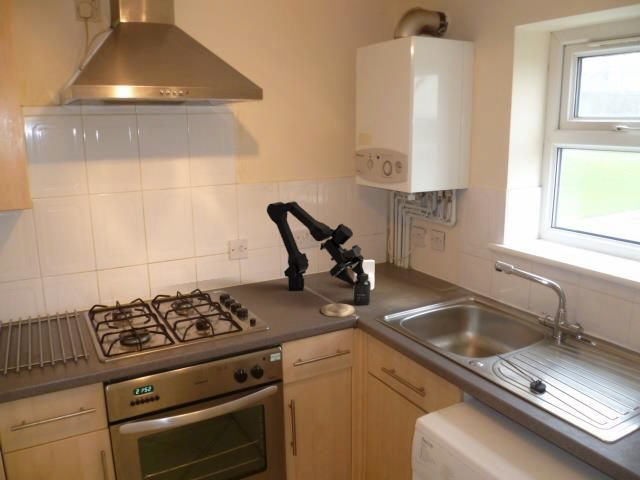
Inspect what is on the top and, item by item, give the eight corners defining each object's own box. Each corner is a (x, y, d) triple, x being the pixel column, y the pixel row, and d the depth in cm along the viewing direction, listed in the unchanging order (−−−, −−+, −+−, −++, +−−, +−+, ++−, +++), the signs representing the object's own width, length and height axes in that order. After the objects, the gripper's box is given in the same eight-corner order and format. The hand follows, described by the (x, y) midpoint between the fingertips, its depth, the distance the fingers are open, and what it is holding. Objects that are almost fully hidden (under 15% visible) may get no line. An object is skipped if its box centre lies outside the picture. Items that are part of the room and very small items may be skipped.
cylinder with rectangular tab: (371, 283, 243) (372, 257, 240) (376, 290, 234) (376, 263, 232) (351, 284, 242) (352, 258, 239) (355, 290, 233) (356, 264, 230)
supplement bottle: (358, 306, 214) (358, 277, 211) (350, 301, 220) (350, 273, 217) (373, 304, 216) (374, 275, 214) (365, 299, 222) (365, 271, 220)
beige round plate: (323, 318, 202) (323, 315, 202) (319, 306, 214) (319, 304, 214) (357, 316, 204) (357, 314, 203) (351, 304, 216) (351, 302, 216)
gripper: (336, 244, 208) (360, 276, 205) (360, 235, 223) (383, 264, 220) (319, 261, 214) (343, 292, 211) (343, 251, 230) (366, 280, 226)
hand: (359, 281), depth 217 cm, fingers open, 9 cm apart
